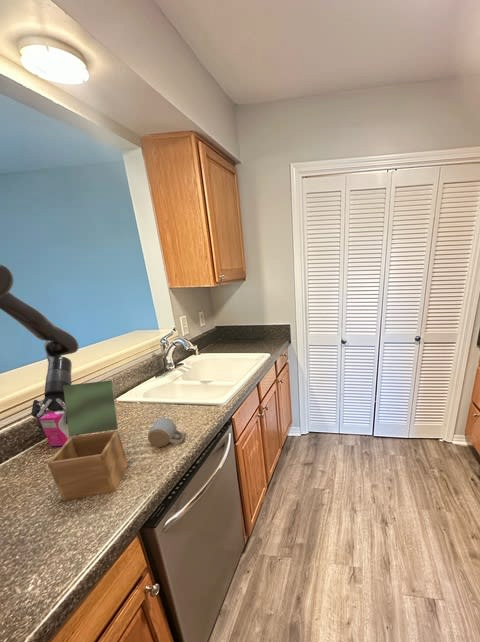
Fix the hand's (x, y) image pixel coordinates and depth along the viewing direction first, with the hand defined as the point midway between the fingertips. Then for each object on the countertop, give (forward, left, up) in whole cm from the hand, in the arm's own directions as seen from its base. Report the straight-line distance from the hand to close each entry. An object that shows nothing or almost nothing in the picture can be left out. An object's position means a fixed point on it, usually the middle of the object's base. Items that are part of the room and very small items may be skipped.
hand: (55, 426), depth 111 cm
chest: (+21, -30, -7) cm, 37 cm away
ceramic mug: (+37, -10, -8) cm, 39 cm away
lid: (+21, -20, +13) cm, 32 cm away
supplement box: (0, +1, -8) cm, 8 cm away
